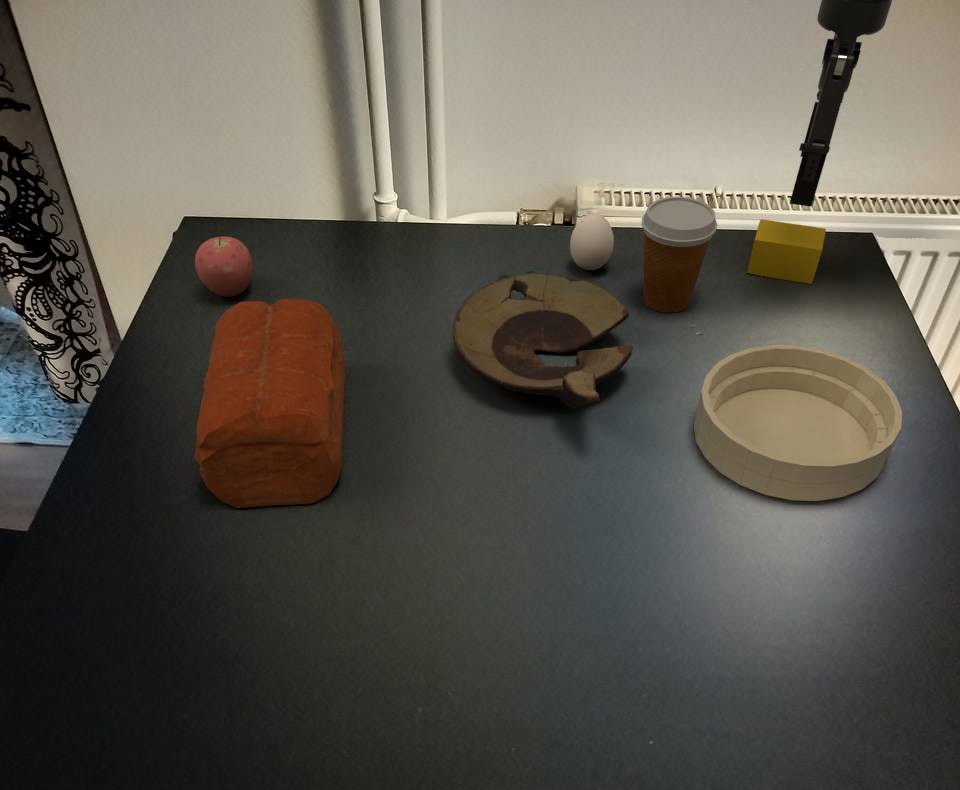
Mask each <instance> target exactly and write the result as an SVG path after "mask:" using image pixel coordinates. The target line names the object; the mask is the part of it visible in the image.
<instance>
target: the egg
mask: <svg viewBox="0 0 960 790" xmlns="http://www.w3.org/2000/svg"><path fill="white" fill-rule="evenodd" d="M614 244H615V236H614V232H613V229H612V226H611V225H610V223H609V221H608V219H607V218H606V217H604V216H603V215H601V214H599V213H595V212H593V213H589V214H586V215H584V216H583V217H582V218H580V220H579V221H578V222H577V223H576V225H575V226H574V229H573V230H572V233H571V236H570V241H569V250H570V255H571V258H572V260H573V261H574V263H575V264H576V265H577V266H578V267H579V268H581V269H583V270H585V271H596V270H599V269H600V268H602V267H603V266H604V265H606V263H608V261H609V260H610V258H611V257H612V254H613V251H614V247H615V245H614Z"/></svg>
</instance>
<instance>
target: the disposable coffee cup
mask: <svg viewBox="0 0 960 790" xmlns="http://www.w3.org/2000/svg"><path fill="white" fill-rule="evenodd" d="M641 226H642V230H643V280H642V281H643V283H642V284H643V285H642V287H643V289H642V291H643V293H642V299H643V302H644V304H645V305H646V306H647V307H648V308H649V309H651V310H654V311H656V312H661V313H677V312H681V311H683V310H685V309H686V308H687V307H688V306H689V305H690V302H691V299H692V296H693V292H694V290H695V287H696V284H697V281H698V278H699V275H700V271H701V269H702V266H703V263H704V260H705V257H706V253H707V250H708V247H709V244H710V241H711V239H712V237H713V236H714V234H715V233H716V231H717V229H718V221H717V220H716V211H715V210H714V209H713V207H712V206H711V205H709V204H708V203H706V202H705V201H702V200H699V199H696V198H692V197H687V196H667V197H662V198H659V199H656V200H654V201H653V202H651V203H650V204H649V205H648V207H647V208H646V210H645V213H644V214H643V215H642V217H641Z"/></svg>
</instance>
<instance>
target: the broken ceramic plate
mask: <svg viewBox="0 0 960 790" xmlns="http://www.w3.org/2000/svg"><path fill="white" fill-rule="evenodd" d="M513 291H516V292H517V293H521V294H522V295H523V296H522V298H513V297H512V293H513ZM629 316H630V313H629V309H628V308H627V307H626V306H624V304H623V302H622V300H620V299H619V298H618V297H617V296H615V295H614V294H611V292H609V291H608V290H607V289H605V288H604V287H602V286H600V285H598V284H596V283H593V282H591V281H588V280H585V279H581V278H577V277H576V278H575V277H570V276H568V275H566V276H563V275H562V274H556V273H555V274H552V273H551V274H550V273H548V272H547V273H541V272H537V271H533V270H529V271H527V272H525V273H522V274H519V275H506V274H503V275H500V276H499V277H498V278H497V279H496V281H494V282H491V283H489V284H487V285H485V286H483V287H481V288H480V289H478V290H477V291H475V292H474V293H472V294H471V295H470V296H469V297H468V298H466V299H465V300H464V301H463V303H462V304H461V305H460V306H459V308H458V309H457V312H456V313H455V316H454V319H453V321H452V327H451V328H452V331H451V332H452V338H453V343H454V347H455V350H456V352H457V354H458V356H459V358H460V359H461V360H462V362H463V363H464V364H465V366H466V367H467V368H468V369H469V370H470V371H472V372H473V373H474V374H476V375H477V376H479V377H480V378H482V379H483V380H485V381H487V382H489V383H492V384H494V385H496V386H498V387H501V388H504V389H506V390H510V391H515V392H518V393H519V392H520V393H525V394H533V395H541V396H553V397H554V396H555V397H556V398H558V399H559V400H560V401H561V402H563V404H564V405H566V406H567V407H569V408H581V407H584V406H591V405H594V404H598V403H599V402H601V401H600V400H601V398H600V394H599V393H598V392H597V391H596V386H597V385H598V384H600V383H602V382H604V381H606V380H608V379H609V378H611V377H613V376H614V375H615V374H617V373H618V372H620V370H621V369H622V368H623V367H624V366H625V365H626V363H627V362H628V361H629V359H630V358H631V356H632V353H633V350H634V347H633V345H629V344H628V345H627V344H626V345H622V346H620V345H617V346H615V347H603V348H600V349H598V348H596V349H585V348H586V347H588V346H590V345H591V344H592V343H594V342H596V341H598V340H600V339H601V338H602V337H604V336H605V335H607V334H609V333H610V332H611V331H612V330H614V329H615V328H617V327H618V326H620V325H621V324H622V323H623V322H624V321H626V320H627V319H628V318H629ZM581 349H583V350H581ZM535 352H541V353H544V352H545V353H554V354H565V353H566V354H567V353H568V354H569V353H571V352H573V353H575V352H576V362H577V365H574V366H568V365H567V363H566V361H565V360H563V362H564V366H557V365H553V366H551V365H544V364H543V362H542V360H541V359H540V357H538V355H536V353H535Z"/></svg>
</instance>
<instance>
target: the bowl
mask: <svg viewBox="0 0 960 790" xmlns="http://www.w3.org/2000/svg"><path fill="white" fill-rule="evenodd" d="M902 425H903V410H902V407H901V405H900V402H899V398H898V396H897V395H896V394H895V392H894V391H893V389H891V387H890V386H889V385H888V384H887V382H886V381H885V380H884V379H882V378H881V377H880V376H879V375H878V374H876V373H874V371H872V370H871V369H870V368H868V367H867V366H865V365H862V364H861V363H859V362H857V361H854V360H853V359H851V358H849V357H847V356H844V355H840V354H837V353H835V352H831V351H829V350H825V349H821V348H815V347H810V346H804V345H797V344H768V345H761V346H754V347H753V346H752V347H748V348H746V349H743V350H739V351H737V352H734V353H731V354H729V355H727V356H726V357H725V358H723V359H721V360H720V361H718V362H716V363H715V364H714V365H713V366H712V368H711V369H710V370H709V372H708V373H706V375H705V377H704V380H703V383H702V387H701V390H700V395H699V399H698V403H697V408H696V413H695V418H694V422H693V430H694V438H695V443H696V444H697V446H698V448H699V450H700V451H701V453H702V455H703V456H704V459H706V460H707V461H708V462H709V464H711V466H713V467H714V468H715V470H717V471H718V472H719V473H720V474H722V475H724V477H726V478H728V479H730V480H731V481H733V482H735V483H736V484H738V485H739V486H741V487H744V488H747V489H748V490H749V489H750V490H752V491H755V492H757V493H760V494H762V495H765V496H769V497H774V498H779V499H783V500H784V499H785V500H789V501H804V502H805V501H808V502H818V501H819V502H820V501H827V500H833V499H838V498H845V497H846V496H849V495H851V494H854V493H857V492H859V491H861V490H863V489H865V488H866V487H867V486H869V485H870V484H871V483H872V482H874V480H877V478H878V477H879V476H880V474H881V472H882V470H883V469H884V467H885V465H886V463H887V461H888V459H889V457H890V455H891V452H892V451H893V448H894V446H895V443H896V442H897V439H898V437H899V435H900V432H901V430H902Z"/></svg>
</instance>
